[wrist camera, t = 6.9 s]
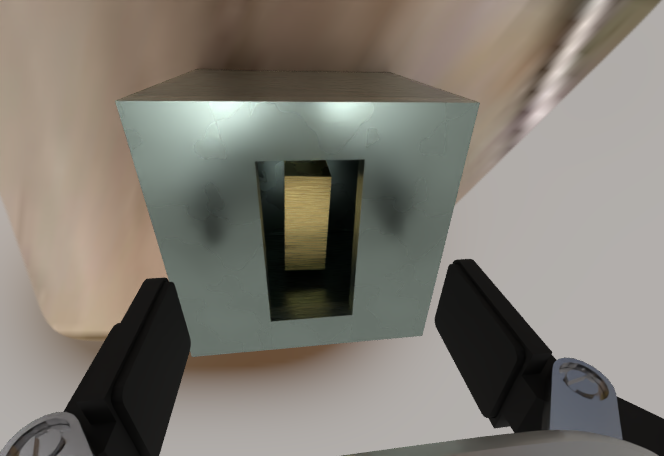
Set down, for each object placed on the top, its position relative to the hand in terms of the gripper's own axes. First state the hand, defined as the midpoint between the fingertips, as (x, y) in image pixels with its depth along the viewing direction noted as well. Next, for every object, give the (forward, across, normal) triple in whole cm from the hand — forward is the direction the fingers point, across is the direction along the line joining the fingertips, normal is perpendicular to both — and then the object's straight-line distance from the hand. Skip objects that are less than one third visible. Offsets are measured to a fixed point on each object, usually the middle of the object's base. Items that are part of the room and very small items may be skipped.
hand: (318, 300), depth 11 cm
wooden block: (+10, 0, +4) cm, 11 cm away
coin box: (+14, 0, 0) cm, 14 cm away
